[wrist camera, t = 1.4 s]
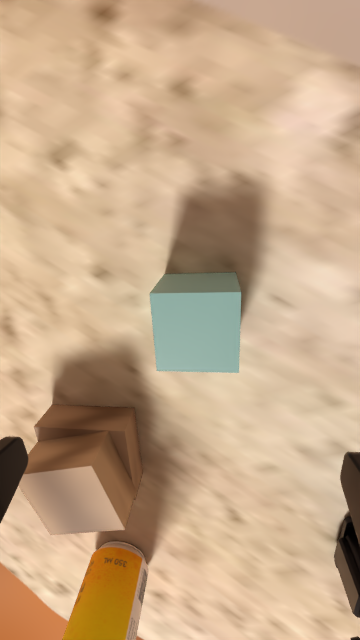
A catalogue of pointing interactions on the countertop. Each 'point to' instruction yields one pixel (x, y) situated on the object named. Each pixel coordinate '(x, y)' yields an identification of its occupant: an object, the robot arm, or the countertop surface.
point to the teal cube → (197, 322)
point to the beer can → (110, 595)
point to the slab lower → (96, 430)
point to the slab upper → (78, 484)
